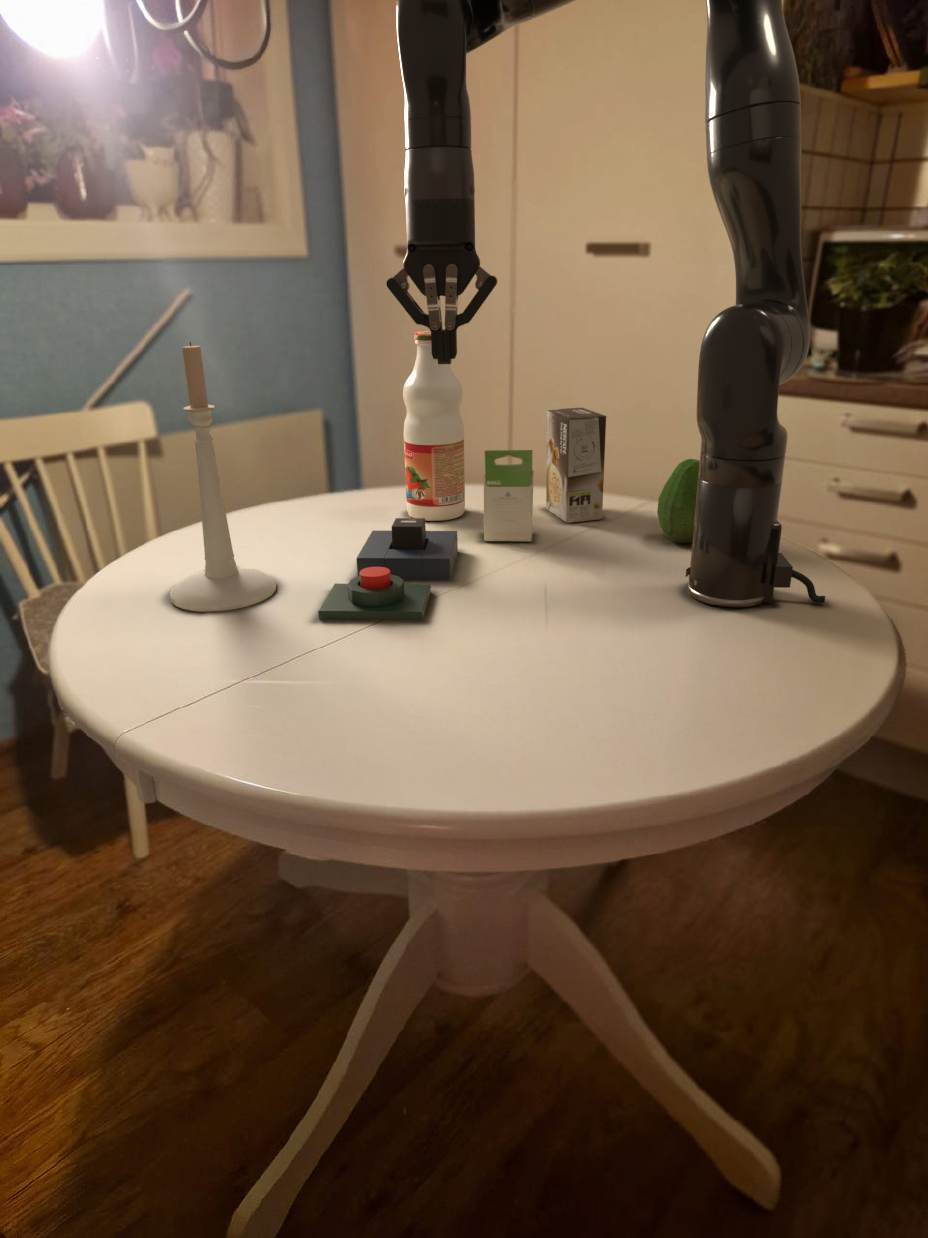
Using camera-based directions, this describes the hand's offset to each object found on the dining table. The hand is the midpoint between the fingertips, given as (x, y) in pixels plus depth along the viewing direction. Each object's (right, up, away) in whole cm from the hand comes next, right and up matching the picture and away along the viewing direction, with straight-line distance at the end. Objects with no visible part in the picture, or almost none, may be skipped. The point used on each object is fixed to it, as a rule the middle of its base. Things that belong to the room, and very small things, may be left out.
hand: (444, 363), depth 100 cm
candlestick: (-28, -27, +8) cm, 39 cm away
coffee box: (+20, -13, +38) cm, 45 cm away
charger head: (-5, -22, +16) cm, 28 cm away
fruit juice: (-2, -13, +39) cm, 42 cm away
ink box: (+9, -18, +27) cm, 33 cm away
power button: (-8, -26, +2) cm, 27 cm away
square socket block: (-5, -22, +17) cm, 28 cm away
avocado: (+34, -19, +24) cm, 45 cm away
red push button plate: (-8, -28, +3) cm, 29 cm away
